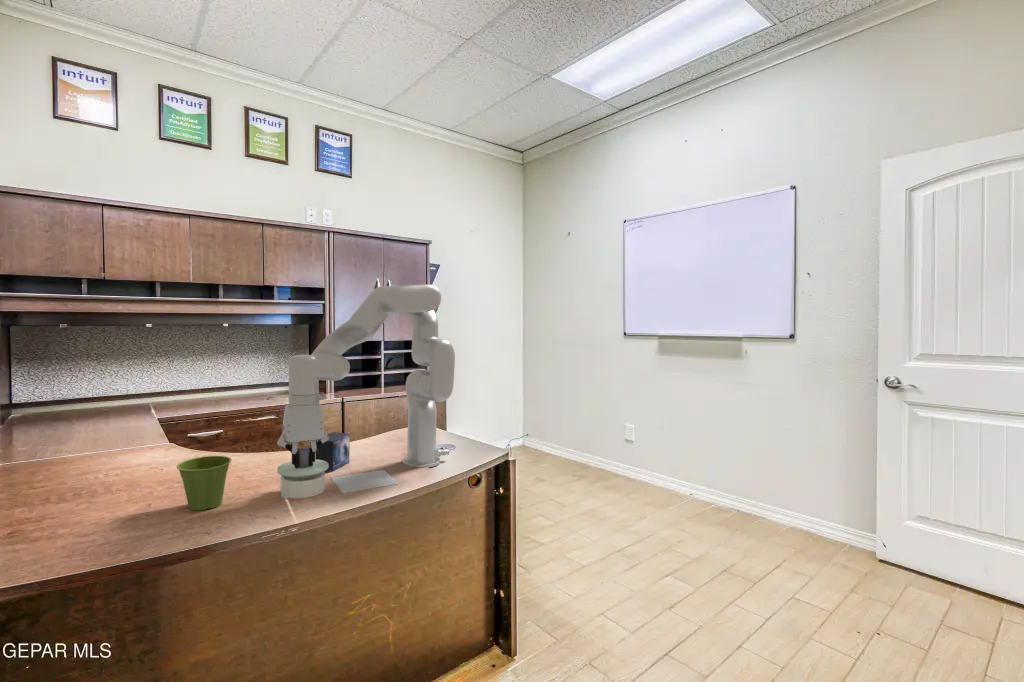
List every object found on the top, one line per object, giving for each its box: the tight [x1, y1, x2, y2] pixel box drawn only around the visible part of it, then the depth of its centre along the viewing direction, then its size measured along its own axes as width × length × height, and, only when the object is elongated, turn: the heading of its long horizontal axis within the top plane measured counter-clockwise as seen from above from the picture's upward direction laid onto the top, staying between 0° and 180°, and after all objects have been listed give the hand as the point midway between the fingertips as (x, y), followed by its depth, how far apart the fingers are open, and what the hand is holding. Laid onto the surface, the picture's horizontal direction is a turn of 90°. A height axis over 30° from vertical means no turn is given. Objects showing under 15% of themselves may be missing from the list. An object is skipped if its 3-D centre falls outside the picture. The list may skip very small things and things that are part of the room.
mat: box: [330, 469, 399, 494], centre depth 144 cm, size 16×14×1 cm
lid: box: [277, 446, 329, 477], centre depth 135 cm, size 13×13×6 cm
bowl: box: [280, 471, 326, 500], centre depth 135 cm, size 11×11×5 cm
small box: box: [315, 431, 351, 473], centre depth 157 cm, size 11×6×10 cm, turn 168°
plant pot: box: [176, 455, 233, 512], centre depth 124 cm, size 12×12×11 cm
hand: (303, 465), depth 135 cm, fingers closed on lid, 3 cm apart
